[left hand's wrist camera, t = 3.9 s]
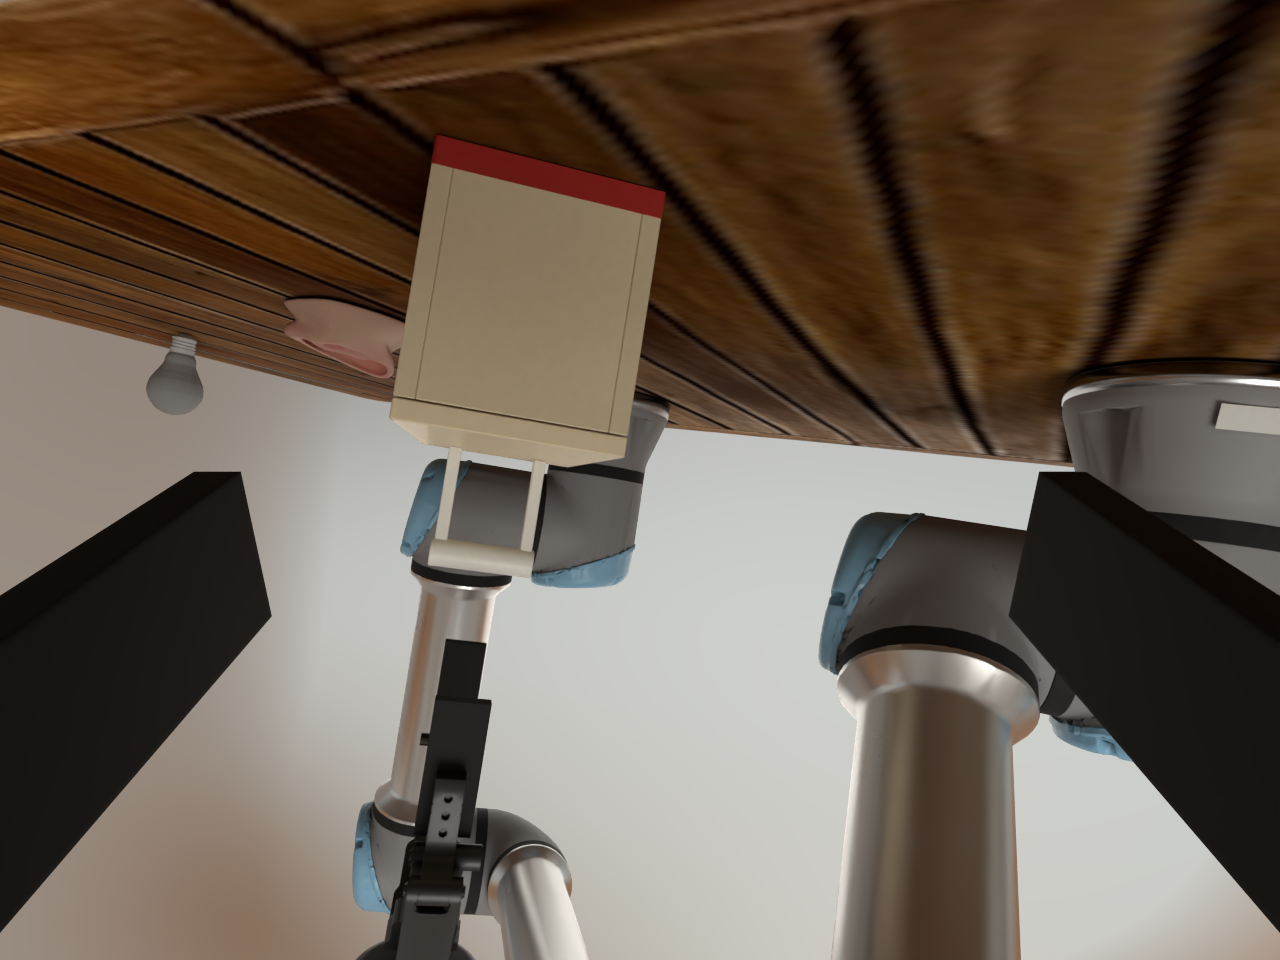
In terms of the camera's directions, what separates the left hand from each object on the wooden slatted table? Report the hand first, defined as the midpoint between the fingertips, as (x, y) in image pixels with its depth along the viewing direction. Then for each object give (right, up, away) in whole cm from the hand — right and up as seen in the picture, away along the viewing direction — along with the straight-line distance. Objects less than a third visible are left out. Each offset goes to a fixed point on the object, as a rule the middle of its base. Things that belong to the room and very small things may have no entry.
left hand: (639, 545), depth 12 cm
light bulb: (-57, +19, +79) cm, 99 cm away
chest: (-5, +14, +25) cm, 29 cm away
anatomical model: (-26, +16, +53) cm, 61 cm away
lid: (-7, +4, +25) cm, 27 cm away
